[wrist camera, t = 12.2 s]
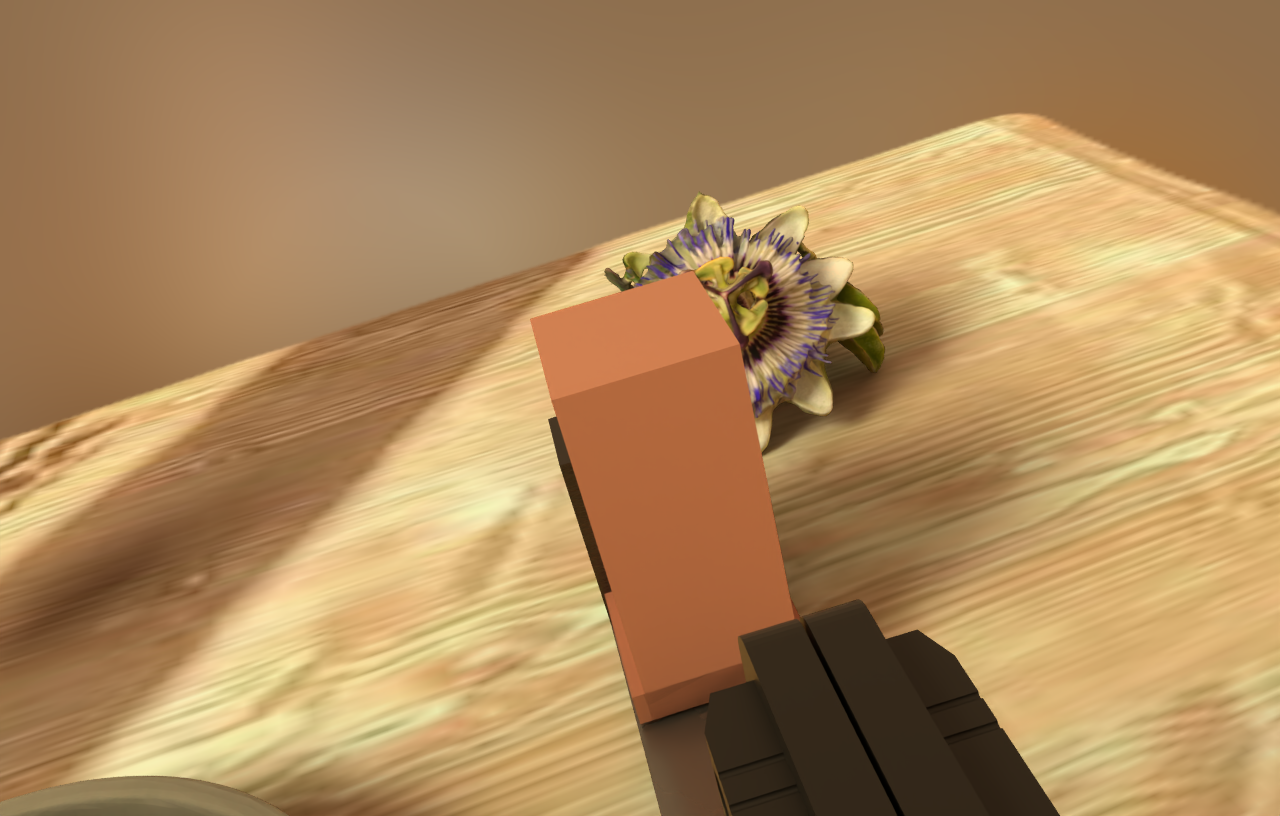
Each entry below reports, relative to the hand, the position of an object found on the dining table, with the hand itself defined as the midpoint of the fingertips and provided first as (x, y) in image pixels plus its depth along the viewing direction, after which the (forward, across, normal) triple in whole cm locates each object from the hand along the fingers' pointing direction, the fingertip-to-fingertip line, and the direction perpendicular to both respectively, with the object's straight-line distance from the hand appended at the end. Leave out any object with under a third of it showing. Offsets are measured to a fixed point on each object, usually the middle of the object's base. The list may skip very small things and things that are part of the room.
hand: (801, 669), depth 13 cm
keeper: (+17, -1, +16) cm, 23 cm away
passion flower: (+32, -7, +18) cm, 37 cm away
